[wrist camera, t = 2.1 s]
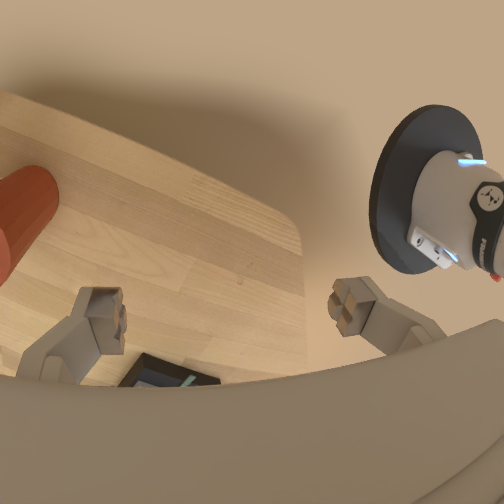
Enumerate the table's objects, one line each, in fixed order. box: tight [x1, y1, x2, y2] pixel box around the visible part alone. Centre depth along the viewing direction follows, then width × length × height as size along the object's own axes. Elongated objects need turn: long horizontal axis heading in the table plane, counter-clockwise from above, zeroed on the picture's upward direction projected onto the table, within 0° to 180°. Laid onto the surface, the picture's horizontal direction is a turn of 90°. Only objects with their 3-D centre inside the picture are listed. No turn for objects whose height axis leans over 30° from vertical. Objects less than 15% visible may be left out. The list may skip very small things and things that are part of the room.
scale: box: [118, 353, 221, 388], centre depth 36 cm, size 12×16×4 cm
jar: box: [0, 166, 59, 287], centre depth 16 cm, size 6×6×11 cm
